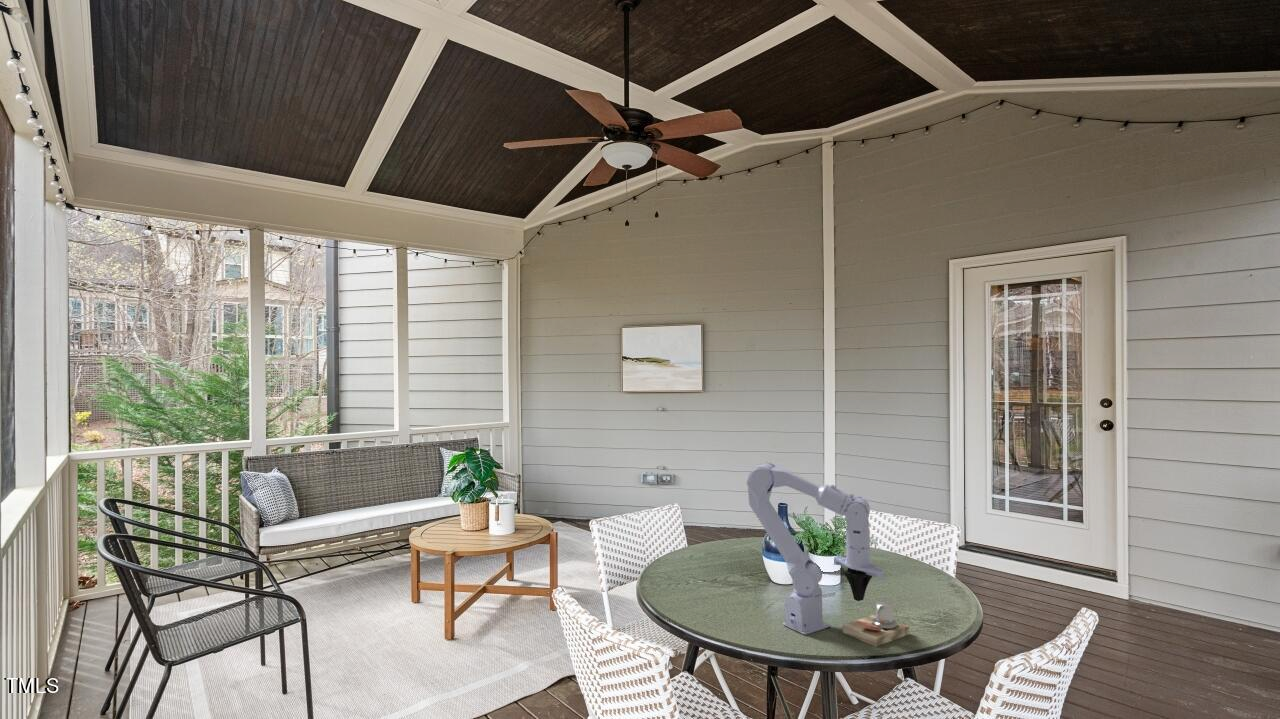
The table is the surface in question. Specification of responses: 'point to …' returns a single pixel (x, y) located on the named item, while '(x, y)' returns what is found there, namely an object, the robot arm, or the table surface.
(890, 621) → the silver knob
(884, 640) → the hitch block
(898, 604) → the table surface
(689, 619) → the table surface
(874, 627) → the latch tab
